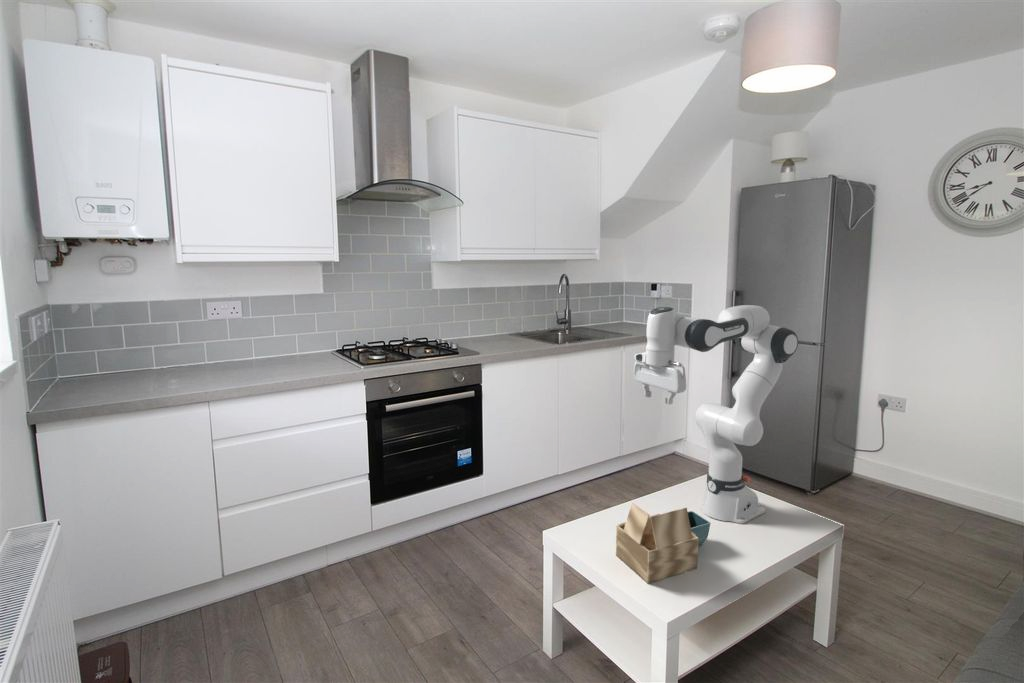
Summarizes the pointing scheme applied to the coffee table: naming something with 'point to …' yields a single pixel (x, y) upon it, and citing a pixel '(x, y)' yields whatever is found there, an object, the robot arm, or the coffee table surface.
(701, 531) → the flower pot
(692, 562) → the open wooden box
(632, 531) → the flap front
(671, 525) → the flap left
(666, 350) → the robot arm
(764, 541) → the coffee table surface
